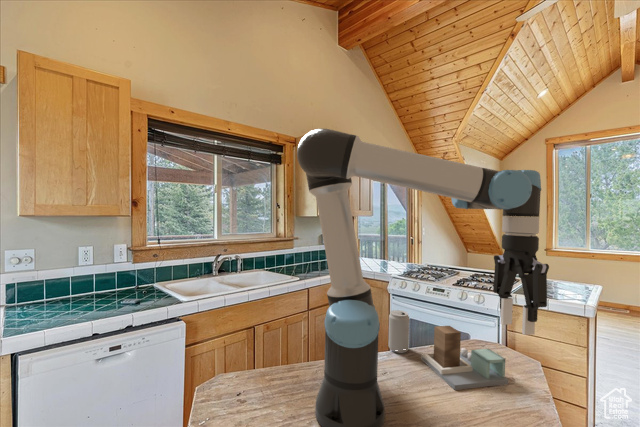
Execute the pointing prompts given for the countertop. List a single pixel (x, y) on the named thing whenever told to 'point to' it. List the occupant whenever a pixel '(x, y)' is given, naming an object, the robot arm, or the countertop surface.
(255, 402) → the countertop surface
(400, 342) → the beverage can
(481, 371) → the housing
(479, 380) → the jig board
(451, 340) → the block
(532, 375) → the countertop surface
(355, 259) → the robot arm
